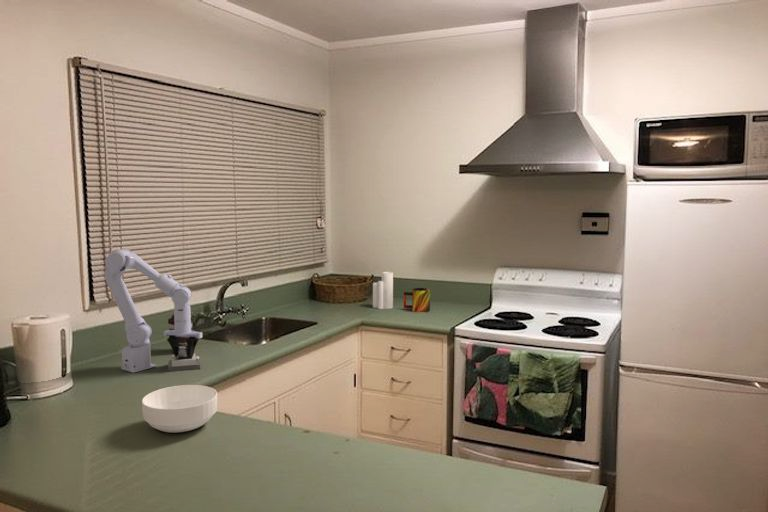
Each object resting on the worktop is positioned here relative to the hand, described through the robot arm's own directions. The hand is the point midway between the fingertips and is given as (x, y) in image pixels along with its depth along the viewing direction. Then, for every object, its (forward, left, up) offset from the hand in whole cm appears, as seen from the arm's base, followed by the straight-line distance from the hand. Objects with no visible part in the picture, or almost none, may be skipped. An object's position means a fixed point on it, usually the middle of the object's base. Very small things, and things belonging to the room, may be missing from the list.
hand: (183, 356), depth 217 cm
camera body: (0, 0, -4) cm, 4 cm away
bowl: (-35, -46, -4) cm, 58 cm away
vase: (+136, +5, -4) cm, 136 cm away
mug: (+140, -15, -4) cm, 141 cm away
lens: (0, 0, -2) cm, 2 cm away
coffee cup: (+13, +19, -4) cm, 23 cm away
